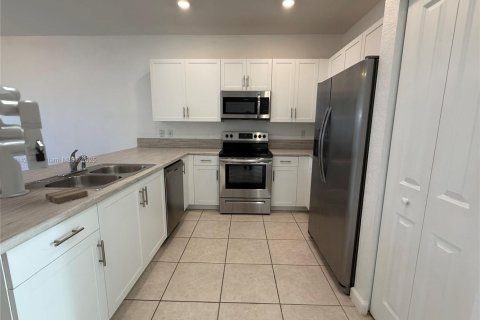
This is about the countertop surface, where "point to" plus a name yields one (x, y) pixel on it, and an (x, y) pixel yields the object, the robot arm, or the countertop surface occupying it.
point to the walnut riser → (66, 195)
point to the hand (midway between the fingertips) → (37, 160)
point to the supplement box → (32, 158)
